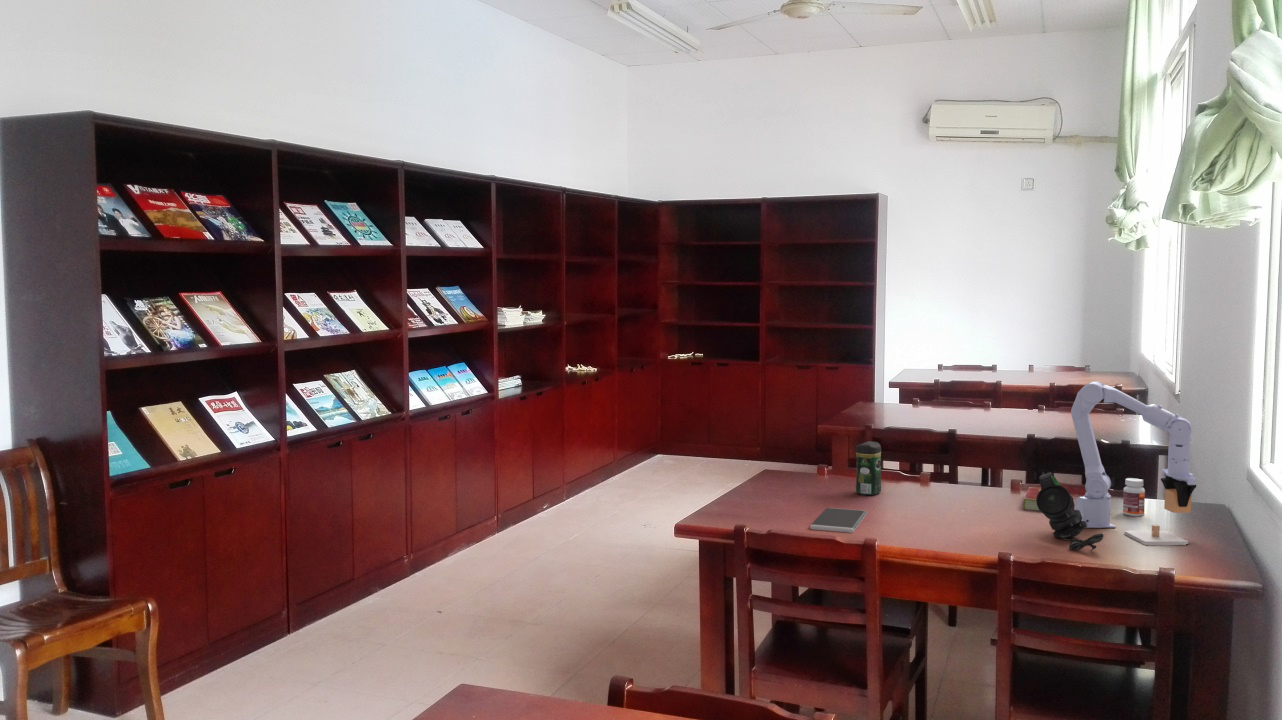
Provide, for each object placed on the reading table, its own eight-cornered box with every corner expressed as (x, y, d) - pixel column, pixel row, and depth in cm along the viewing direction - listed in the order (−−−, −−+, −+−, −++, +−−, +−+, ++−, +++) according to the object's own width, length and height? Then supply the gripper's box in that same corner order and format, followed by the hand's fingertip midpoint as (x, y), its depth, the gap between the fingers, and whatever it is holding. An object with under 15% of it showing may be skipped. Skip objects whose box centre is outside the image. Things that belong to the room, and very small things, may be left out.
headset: (1067, 576, 269) (1048, 508, 293) (1117, 561, 263) (1093, 493, 287) (1042, 533, 262) (1024, 467, 286) (1092, 516, 256) (1070, 451, 280)
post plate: (1144, 544, 269) (1145, 531, 268) (1124, 534, 281) (1124, 520, 280) (1187, 544, 268) (1188, 531, 268) (1165, 534, 280) (1165, 520, 280)
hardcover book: (1022, 510, 314) (1023, 497, 313) (1027, 498, 333) (1027, 486, 332) (1062, 513, 309) (1062, 501, 308) (1065, 501, 327) (1065, 489, 327)
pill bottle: (1143, 517, 301) (1144, 482, 300) (1121, 515, 304) (1122, 480, 304) (1145, 513, 306) (1146, 479, 305) (1124, 511, 310) (1125, 477, 309)
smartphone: (867, 515, 309) (867, 510, 309) (853, 534, 284) (853, 528, 284) (826, 512, 314) (826, 507, 314) (809, 530, 289) (809, 525, 289)
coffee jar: (863, 489, 346) (863, 439, 345) (883, 492, 341) (884, 441, 340) (852, 494, 338) (852, 442, 337) (873, 497, 334) (874, 444, 332)
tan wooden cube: (1173, 512, 277) (1174, 492, 277) (1164, 508, 282) (1164, 488, 282) (1190, 512, 277) (1191, 492, 277) (1181, 508, 282) (1181, 488, 282)
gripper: (1207, 463, 271) (1205, 509, 272) (1179, 454, 286) (1177, 498, 287) (1182, 463, 271) (1180, 510, 272) (1155, 454, 286) (1154, 498, 287)
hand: (1177, 504), depth 280 cm, fingers closed on tan wooden cube, 5 cm apart
